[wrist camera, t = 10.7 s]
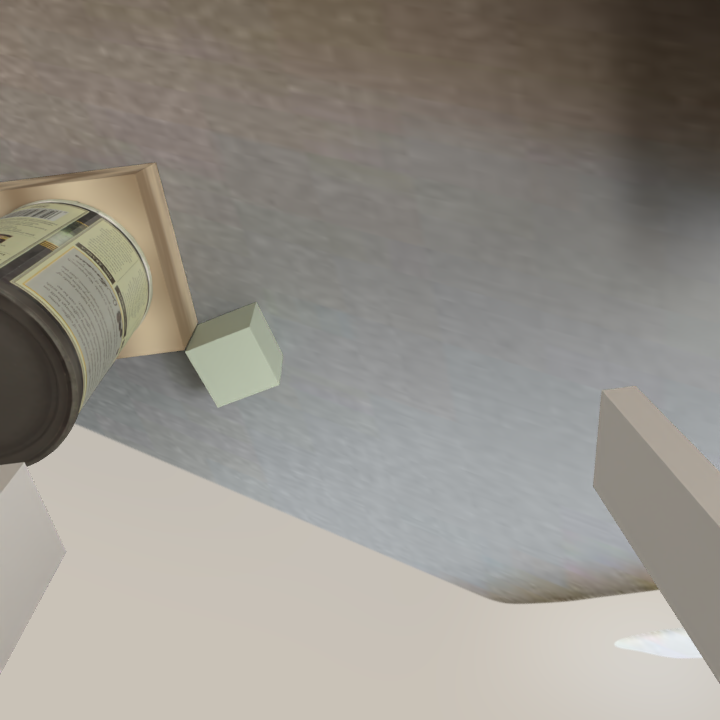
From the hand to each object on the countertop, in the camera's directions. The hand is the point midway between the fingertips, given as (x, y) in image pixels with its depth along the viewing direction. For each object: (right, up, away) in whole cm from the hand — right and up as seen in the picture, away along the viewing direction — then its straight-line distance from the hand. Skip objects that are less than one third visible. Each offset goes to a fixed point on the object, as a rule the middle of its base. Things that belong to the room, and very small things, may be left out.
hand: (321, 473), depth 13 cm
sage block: (-9, +4, +33) cm, 34 cm away
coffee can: (-18, +8, +24) cm, 31 cm away
